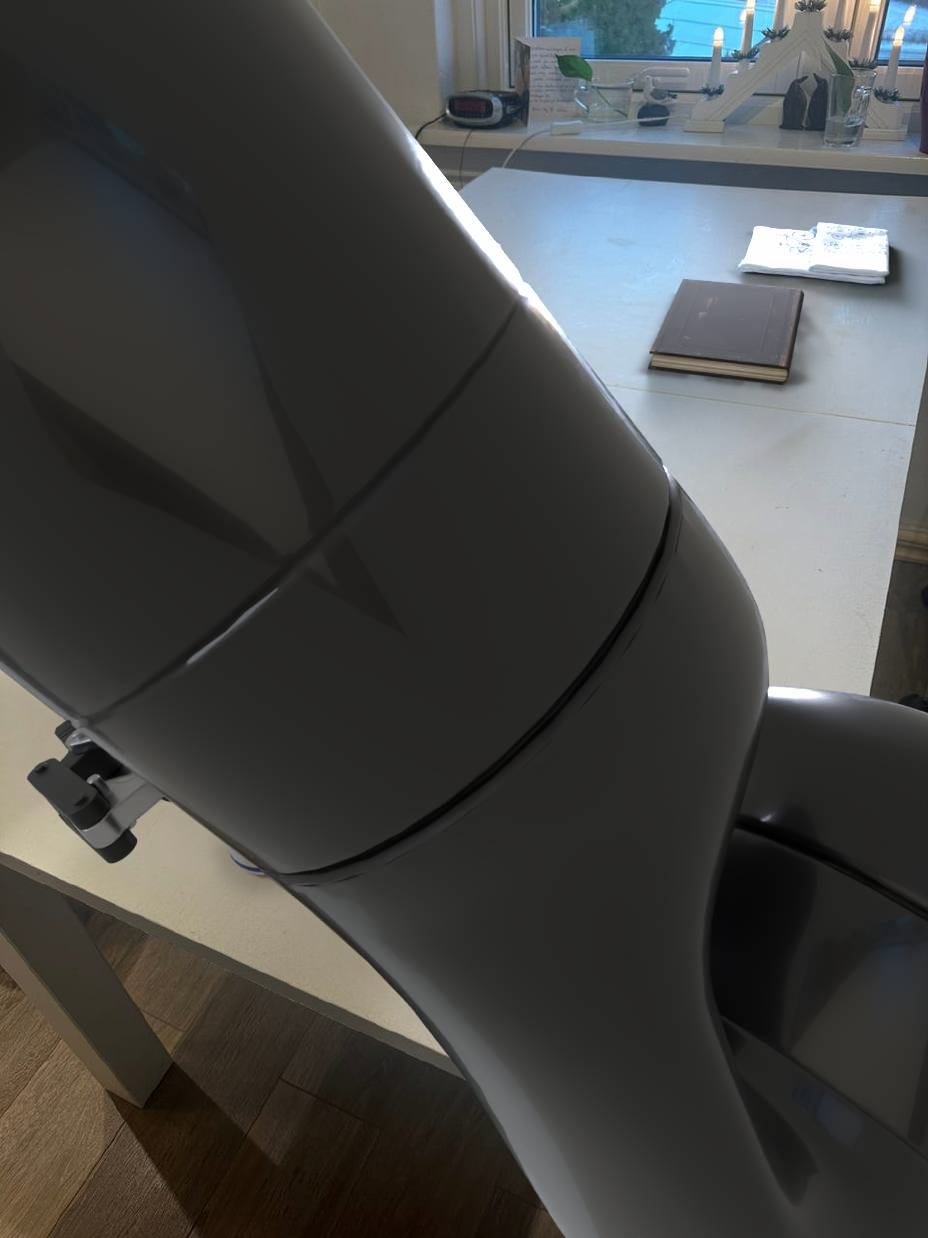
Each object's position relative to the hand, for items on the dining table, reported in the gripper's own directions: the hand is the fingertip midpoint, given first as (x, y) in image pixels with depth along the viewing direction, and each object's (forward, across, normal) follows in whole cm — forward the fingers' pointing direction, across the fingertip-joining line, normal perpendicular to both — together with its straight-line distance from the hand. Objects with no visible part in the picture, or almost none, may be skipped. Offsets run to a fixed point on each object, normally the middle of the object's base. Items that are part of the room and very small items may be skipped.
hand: (160, 665), depth 40 cm
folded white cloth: (+38, -116, +21) cm, 124 cm away
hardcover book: (+32, -85, +20) cm, 93 cm away
